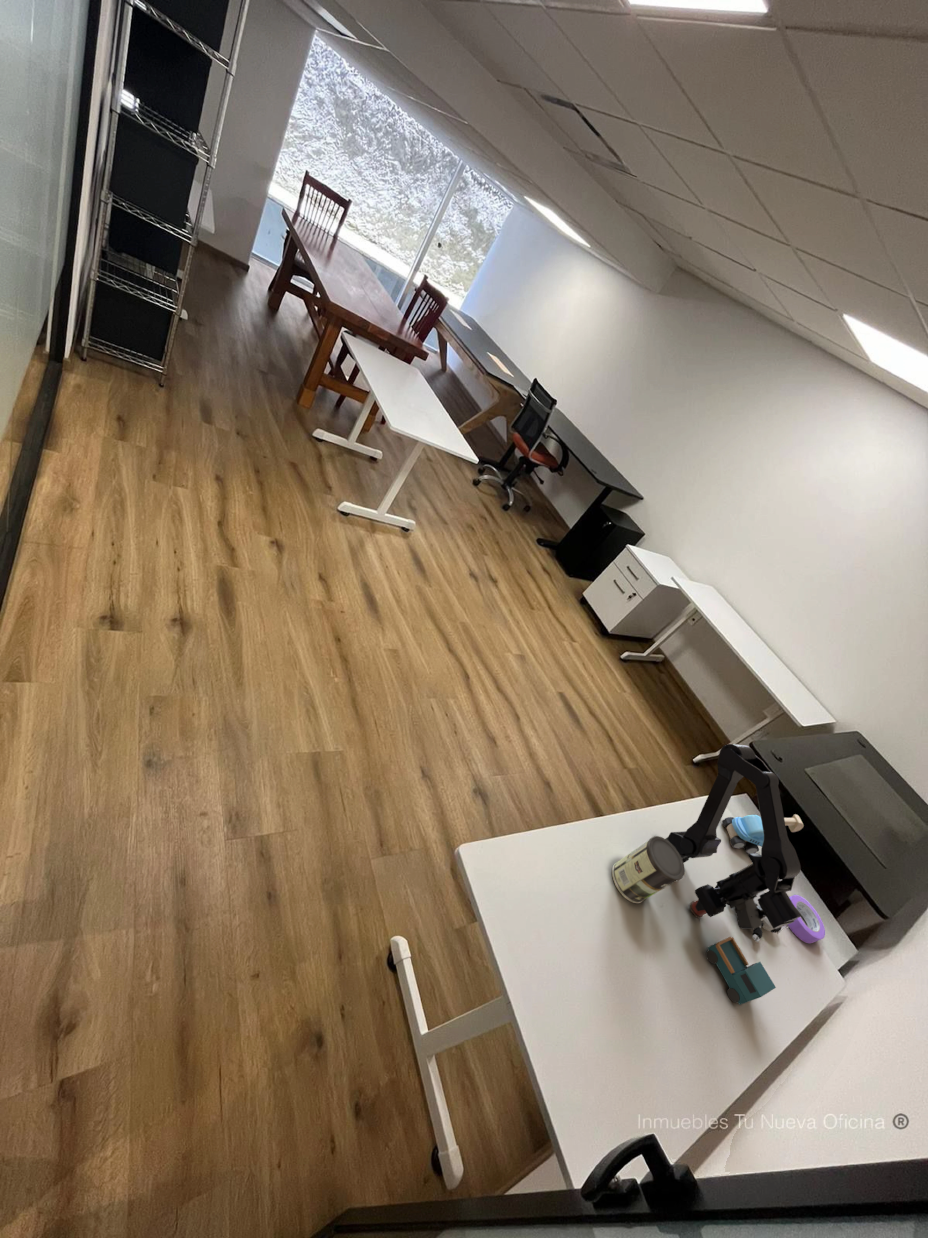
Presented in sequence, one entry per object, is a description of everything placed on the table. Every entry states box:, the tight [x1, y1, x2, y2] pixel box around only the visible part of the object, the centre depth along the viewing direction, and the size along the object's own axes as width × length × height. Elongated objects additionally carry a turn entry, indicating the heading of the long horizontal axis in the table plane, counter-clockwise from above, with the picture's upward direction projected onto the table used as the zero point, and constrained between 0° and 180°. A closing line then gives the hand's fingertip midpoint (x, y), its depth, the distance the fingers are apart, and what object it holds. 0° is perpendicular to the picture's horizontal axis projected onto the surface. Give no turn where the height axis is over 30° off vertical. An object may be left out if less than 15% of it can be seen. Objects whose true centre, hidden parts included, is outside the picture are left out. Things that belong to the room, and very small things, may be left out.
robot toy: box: [751, 890, 789, 943], centre depth 145 cm, size 12×4×15 cm
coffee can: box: [611, 835, 686, 904], centre depth 129 cm, size 10×10×14 cm
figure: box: [689, 893, 723, 919], centre depth 134 cm, size 4×4×8 cm
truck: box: [705, 936, 777, 1006], centre depth 126 cm, size 12×7×8 cm, turn 24°
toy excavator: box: [721, 813, 805, 855], centre depth 163 cm, size 9×17×17 cm, turn 89°
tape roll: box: [787, 894, 826, 944], centre depth 153 cm, size 12×12×4 cm
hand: (700, 907), depth 136 cm, fingers closed on figure, 3 cm apart
